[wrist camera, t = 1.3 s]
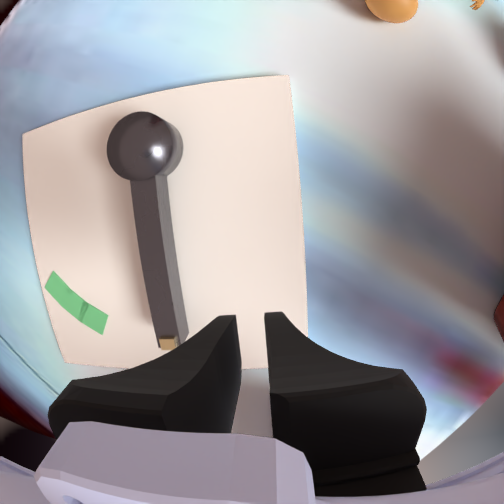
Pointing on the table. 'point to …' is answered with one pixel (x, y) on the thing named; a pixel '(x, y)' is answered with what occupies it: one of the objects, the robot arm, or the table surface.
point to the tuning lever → (153, 214)
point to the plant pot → (500, 317)
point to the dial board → (183, 221)
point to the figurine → (399, 9)
